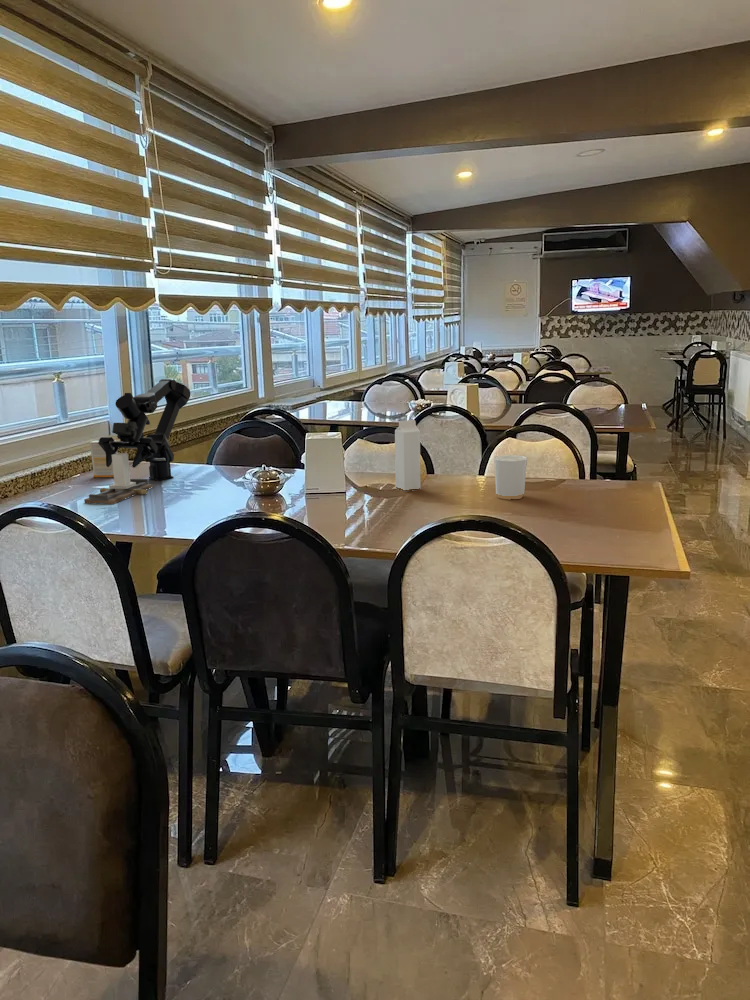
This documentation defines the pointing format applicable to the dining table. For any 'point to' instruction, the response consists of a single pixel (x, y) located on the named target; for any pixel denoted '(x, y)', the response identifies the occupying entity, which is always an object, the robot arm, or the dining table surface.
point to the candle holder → (510, 475)
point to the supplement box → (100, 461)
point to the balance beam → (119, 493)
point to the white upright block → (121, 472)
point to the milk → (407, 455)
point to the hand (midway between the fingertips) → (120, 466)
